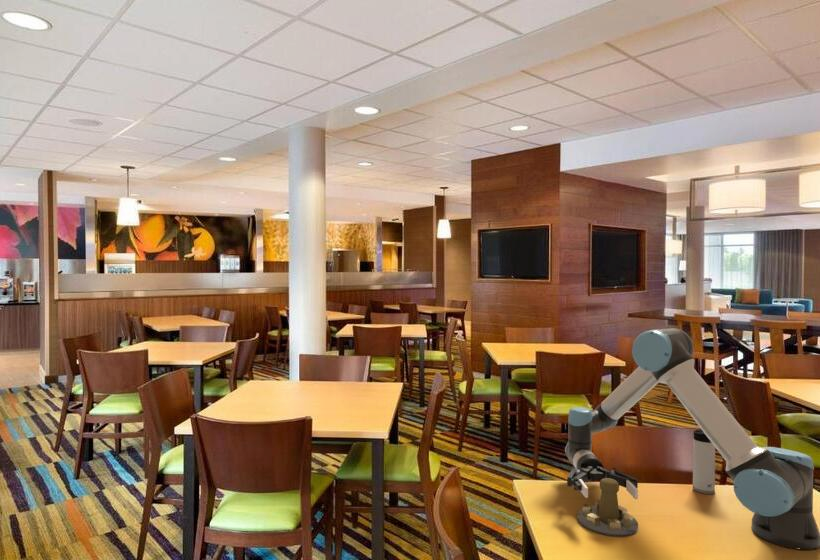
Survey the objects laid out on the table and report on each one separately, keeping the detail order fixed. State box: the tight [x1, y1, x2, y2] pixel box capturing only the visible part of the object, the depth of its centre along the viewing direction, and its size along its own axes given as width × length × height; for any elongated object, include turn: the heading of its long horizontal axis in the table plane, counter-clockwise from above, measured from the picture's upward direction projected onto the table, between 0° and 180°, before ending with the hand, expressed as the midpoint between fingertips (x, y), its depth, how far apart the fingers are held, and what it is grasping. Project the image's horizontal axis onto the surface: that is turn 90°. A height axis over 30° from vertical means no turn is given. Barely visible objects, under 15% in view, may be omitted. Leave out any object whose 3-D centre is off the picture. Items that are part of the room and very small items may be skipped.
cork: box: [598, 478, 620, 523], centre depth 145 cm, size 6×6×11 cm
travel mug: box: [692, 428, 716, 495], centre depth 167 cm, size 6×7×20 cm
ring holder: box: [577, 501, 639, 538], centre depth 145 cm, size 16×16×3 cm
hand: (611, 493), depth 142 cm, fingers open, 13 cm apart
